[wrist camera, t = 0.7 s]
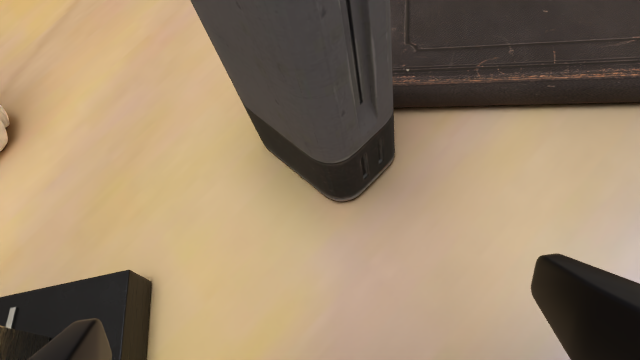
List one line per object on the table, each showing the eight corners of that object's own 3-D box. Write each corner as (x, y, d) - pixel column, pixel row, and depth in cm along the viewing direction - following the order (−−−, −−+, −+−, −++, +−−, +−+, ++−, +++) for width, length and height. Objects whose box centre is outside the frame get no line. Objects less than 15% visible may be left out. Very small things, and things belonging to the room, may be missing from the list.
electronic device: (405, 152, 27) (409, -288, 10) (344, 214, 26) (230, -182, 9) (310, 90, 32) (203, -293, 15) (253, 139, 30) (60, -222, 13)
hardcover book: (383, -26, 37) (382, -50, 35) (676, -52, 32) (694, -83, 30) (374, 112, 29) (372, 91, 27) (757, 105, 25) (788, 78, 23)
